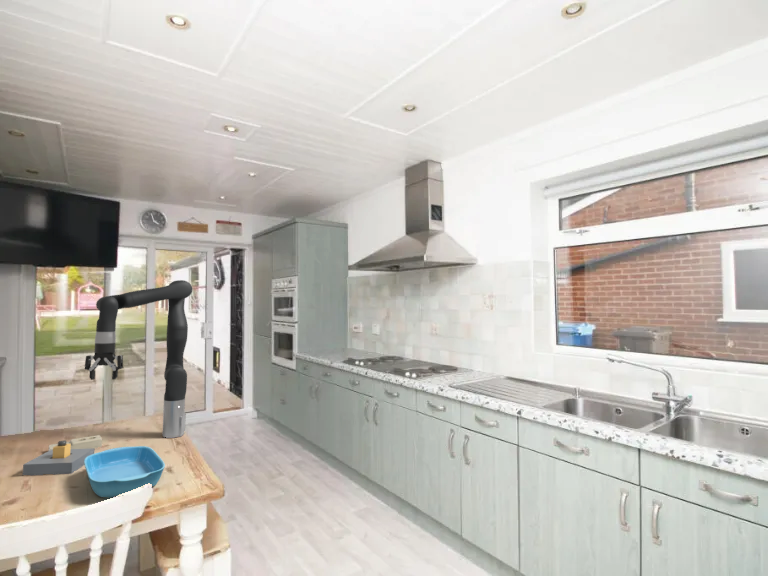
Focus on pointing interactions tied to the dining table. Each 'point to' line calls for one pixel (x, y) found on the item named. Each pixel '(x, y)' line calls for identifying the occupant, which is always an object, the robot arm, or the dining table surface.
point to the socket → (57, 463)
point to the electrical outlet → (83, 443)
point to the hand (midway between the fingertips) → (103, 379)
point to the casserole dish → (123, 469)
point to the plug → (61, 450)
